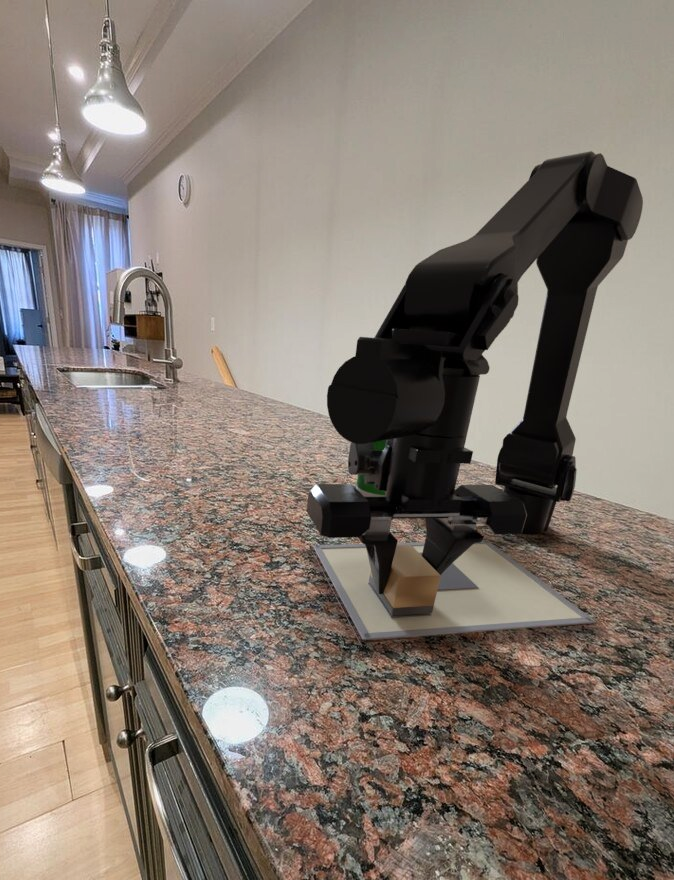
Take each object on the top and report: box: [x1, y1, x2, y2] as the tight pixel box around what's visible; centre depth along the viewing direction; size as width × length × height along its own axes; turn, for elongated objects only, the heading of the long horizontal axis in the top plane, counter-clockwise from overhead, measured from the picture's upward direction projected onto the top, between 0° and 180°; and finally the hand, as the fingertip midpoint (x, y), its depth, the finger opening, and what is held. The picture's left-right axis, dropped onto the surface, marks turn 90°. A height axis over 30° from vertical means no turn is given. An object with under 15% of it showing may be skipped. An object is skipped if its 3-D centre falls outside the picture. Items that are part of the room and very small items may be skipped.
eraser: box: [369, 545, 441, 615], centre depth 42 cm, size 4×6×4 cm, turn 11°
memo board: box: [311, 539, 597, 648], centre depth 48 cm, size 23×17×1 cm
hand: (399, 590), depth 43 cm, fingers closed on eraser, 4 cm apart
